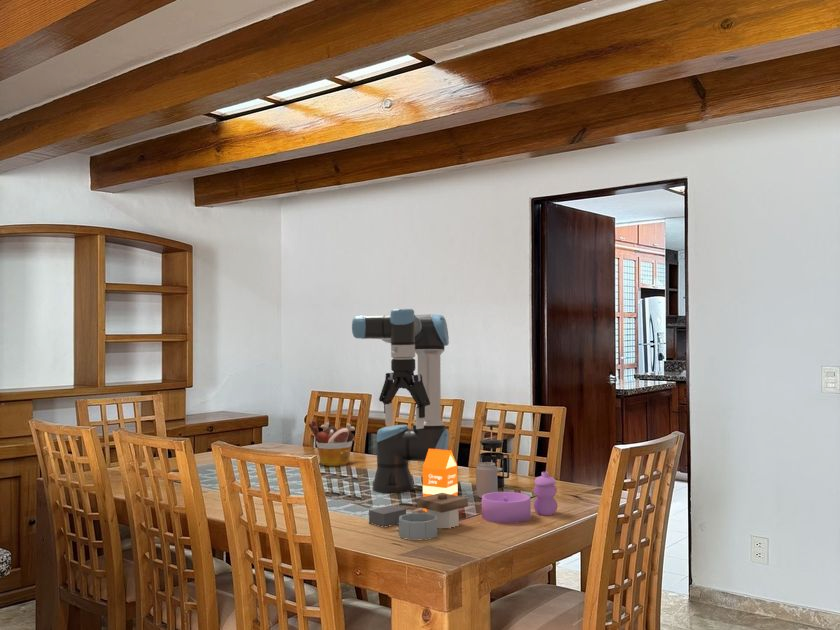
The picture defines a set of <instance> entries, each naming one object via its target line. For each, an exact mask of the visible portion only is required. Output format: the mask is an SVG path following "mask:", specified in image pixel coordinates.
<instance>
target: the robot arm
mask: <svg viewBox="0 0 840 630" xmlns="http://www.w3.org/2000/svg"><path fill="white" fill-rule="evenodd" d="M351 332H352V335H353V337H354V338H355V339H362V340H364V339H366V340H367V339H369V340H371V339H373V340H374V339H375V340H382V341H383V342H385V343H388V344H390V355H391V358H392V359H391V360H390V362H391V363H390V364H391V365H390V366H391V368H390V369H391V371H392V372H387V373H385V379H384V382H383V386H382V389H381V392H380V394H379V398H378V400H379V401H378V402H382V404H383V409H384V410H383V413H384V415H385V416H384V417H385V418H384V419H385V420H384V423H385V426H384V427H381V428H379V429H378V430H377V433H376V464H377V465H376V472H375V476H374V480H373V481H372V490H373V491H375V492H379V493H385V494H386V493H388V494H391V493H395V494H396V493H405V492H409V491H412V490H414V480H413V479H412V474H411V472H410V468H409V462H412V461H413V462H416V461H417V462H425V459H426V456H427V453H428V450H429V449H440V450H448V448H449V442H450V430H449V429H448V428H446V427H445V423H444V422H443V421H442V419H441V417H442V416H441V413H442V412H441V410H442V409H441V405H442V404H441V400H442V399H441V398H442V397H441V391H442V390H441V387H442V386H441V356H442V354H443V353H444V352H445V347H446V346H448V345H449V343H450V341H449V336H450V335H449V330H448V324H447V321H446V318H445V317H444V315H441V314H435V313H434V314H433V313H431V314H426V313H425V314H415V310H414V309H413V308H392V309H391V310H390V315H389V314H387V315H386V314H384V315H363V314H362V315H355V316H354V317H353V319H352V322H351ZM416 356H417V374H415V373H414V372H415V370H416V359H415V358H416ZM399 389H405V390H407V391H408V392H409V394H410V395H411V397H412V399H413V401H414V402H415V405H416V407H415V422H414V423H413V424H412V427H413V428H409V426H408V425H407V424H396V425H394V403H393V400H394V398H395V396H396V395H397V393H398V391H399ZM389 425H390V426H389Z"/></svg>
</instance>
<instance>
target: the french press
mask: <svg viewBox="0 0 840 630" xmlns="http://www.w3.org/2000/svg"><path fill="white" fill-rule="evenodd" d="M497 426H498V425H496V424H486V425H485V427H489V430H490V438H489V439H481V440H479V443H480V444H481V445H482V446H483V447H484V448H486V449H490V452H489V451H488V452H480V453H479V463H482V460H486V462H491V463H495V466H496V467H497V473H501V472H502V475H498V474H497V480H498V489H502V487H503V488H505V487H504V486H505V479H509V478H510V459H509V458H510V455H509V454H508V453H501V452H496V451H495V452H494V451H493V449H501V448H503V443H504V440H502V439H495V438H493V428H495V427H497ZM505 456H506V468H507V469H506V472H507V473H506V475H505V458H504V457H505ZM498 460H501V461H502V463H501V467H499V466H498Z"/></svg>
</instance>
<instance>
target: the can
mask: <svg viewBox="0 0 840 630" xmlns="http://www.w3.org/2000/svg"><path fill="white" fill-rule="evenodd" d="M497 467H498V466H497ZM497 467H496V466H495V463H491V462H487V461H484V462H482V461H481V463H480V462H478V463H477V466H476V467H475V479H476V480H475V482H476V485H475V486H476V488H475V491H476V493H475V494H476V496H477V498H478V499H480V498H482V495H484V494H487V493H493V492H499V491H498V490H499V488H498V480H497V475H498V472H497Z"/></svg>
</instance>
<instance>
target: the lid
mask: <svg viewBox="0 0 840 630" xmlns="http://www.w3.org/2000/svg"><path fill="white" fill-rule="evenodd" d="M416 507H417V508H421V509H423V508H425V509H429V510H433V511H437V512H442V513H443V512H447V511H451V510H455V509H458V510H459V509H463V508H466V507H469V497H465V496H460V495H458V496H456V495H451V494H446V493H439V494H434V495H430V496H425V497H423V496H422V497H417V498H416Z"/></svg>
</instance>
